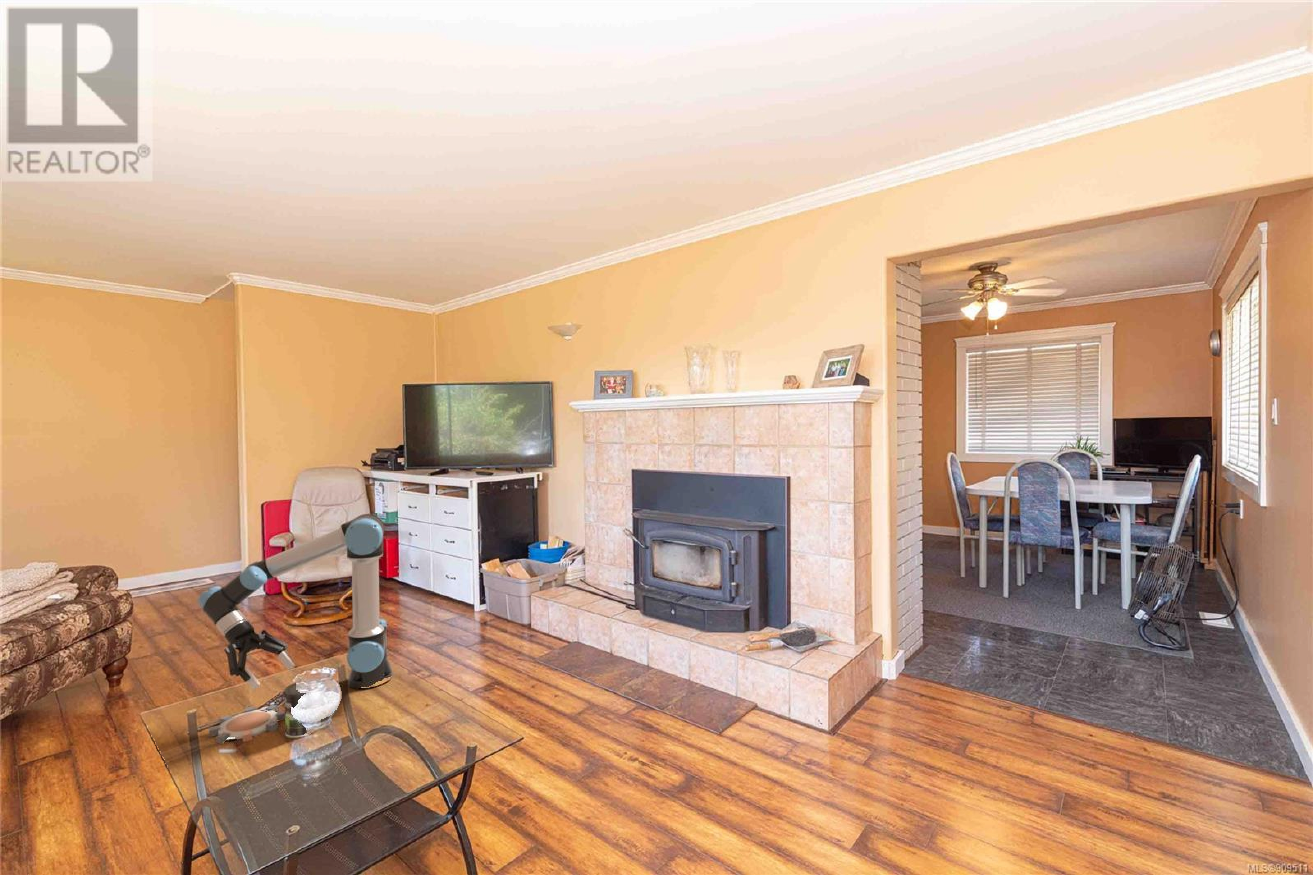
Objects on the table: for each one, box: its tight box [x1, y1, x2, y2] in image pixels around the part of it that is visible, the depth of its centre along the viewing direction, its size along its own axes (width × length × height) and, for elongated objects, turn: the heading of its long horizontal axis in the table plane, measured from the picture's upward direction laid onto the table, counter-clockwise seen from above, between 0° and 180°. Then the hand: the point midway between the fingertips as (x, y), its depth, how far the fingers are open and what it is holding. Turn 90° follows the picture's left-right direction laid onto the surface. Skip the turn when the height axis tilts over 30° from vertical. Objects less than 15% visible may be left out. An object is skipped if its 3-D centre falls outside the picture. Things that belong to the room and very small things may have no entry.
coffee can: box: [283, 682, 308, 739], centre depth 191 cm, size 10×10×14 cm
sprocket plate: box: [208, 704, 285, 744], centre depth 193 cm, size 20×20×2 cm
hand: (275, 677), depth 193 cm, fingers open, 13 cm apart
